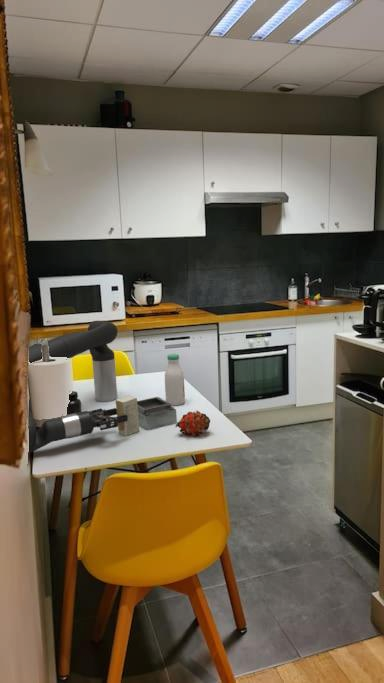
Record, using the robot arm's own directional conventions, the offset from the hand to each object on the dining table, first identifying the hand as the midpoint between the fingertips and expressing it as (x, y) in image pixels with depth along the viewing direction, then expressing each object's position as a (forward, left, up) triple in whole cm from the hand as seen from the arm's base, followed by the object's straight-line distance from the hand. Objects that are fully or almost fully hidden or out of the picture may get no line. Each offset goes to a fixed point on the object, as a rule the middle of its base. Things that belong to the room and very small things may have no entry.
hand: (121, 414), depth 170 cm
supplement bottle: (-20, -11, -7) cm, 24 cm away
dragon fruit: (+15, +19, -7) cm, 25 cm away
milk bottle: (-18, +31, -7) cm, 37 cm away
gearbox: (-6, +14, -7) cm, 17 cm away
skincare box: (0, +2, -7) cm, 7 cm away
